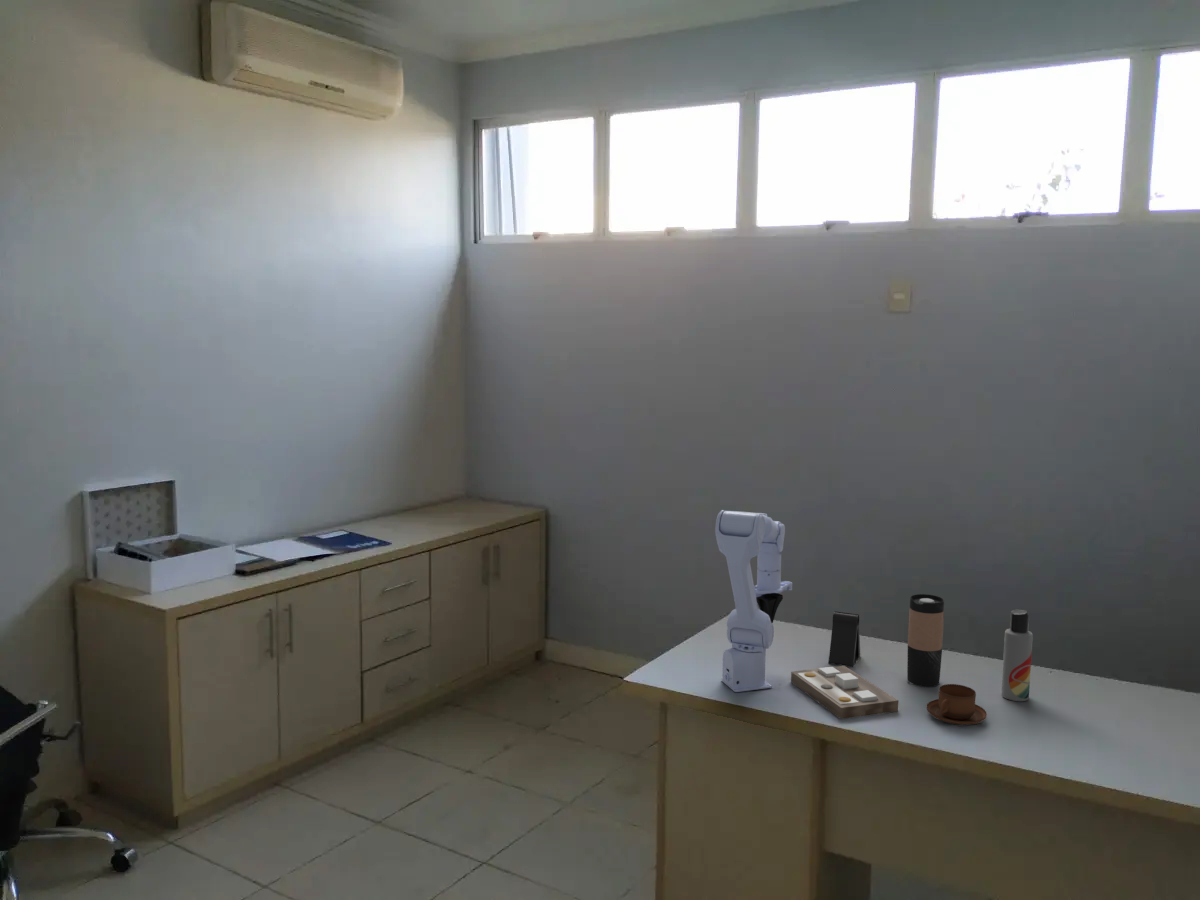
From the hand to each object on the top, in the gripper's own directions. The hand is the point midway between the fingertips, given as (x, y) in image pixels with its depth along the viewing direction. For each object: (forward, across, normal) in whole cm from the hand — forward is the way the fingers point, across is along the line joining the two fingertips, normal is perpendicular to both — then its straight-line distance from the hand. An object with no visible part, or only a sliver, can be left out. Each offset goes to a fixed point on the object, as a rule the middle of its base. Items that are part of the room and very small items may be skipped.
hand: (767, 622), depth 230 cm
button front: (+10, -2, -32) cm, 34 cm away
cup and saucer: (+11, +10, -46) cm, 49 cm away
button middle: (+9, 0, -25) cm, 26 cm away
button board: (+10, -1, -25) cm, 27 cm away
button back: (+10, +2, -18) cm, 21 cm away
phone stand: (+11, +18, -9) cm, 23 cm away
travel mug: (+11, +22, -29) cm, 38 cm away
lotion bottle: (+11, +31, -47) cm, 57 cm away
